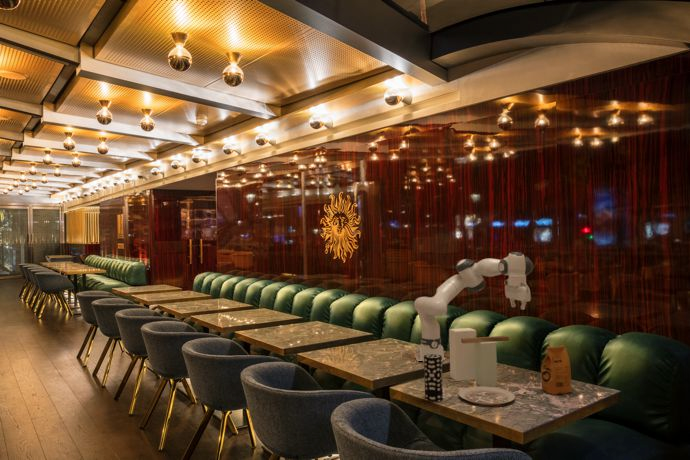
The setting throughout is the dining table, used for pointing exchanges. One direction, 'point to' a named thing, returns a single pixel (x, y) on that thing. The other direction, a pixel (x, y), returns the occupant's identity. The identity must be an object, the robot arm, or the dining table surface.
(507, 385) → the dining table surface
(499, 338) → the stick
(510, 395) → the plate
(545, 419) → the dining table surface
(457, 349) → the tall stand
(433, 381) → the white-spotted black cylinder
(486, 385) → the sage pillar
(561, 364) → the coffee package
